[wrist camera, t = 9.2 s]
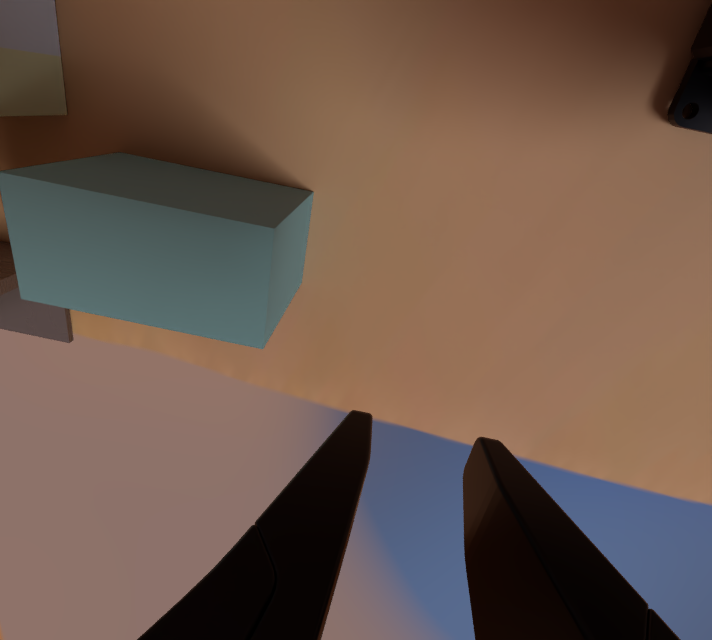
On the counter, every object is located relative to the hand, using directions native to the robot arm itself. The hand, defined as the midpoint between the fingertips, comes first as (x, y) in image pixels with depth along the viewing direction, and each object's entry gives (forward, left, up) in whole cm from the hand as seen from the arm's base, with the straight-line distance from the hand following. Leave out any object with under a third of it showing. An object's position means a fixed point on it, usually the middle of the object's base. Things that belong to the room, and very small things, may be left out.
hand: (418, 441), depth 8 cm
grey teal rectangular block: (+8, 0, -11) cm, 14 cm away
